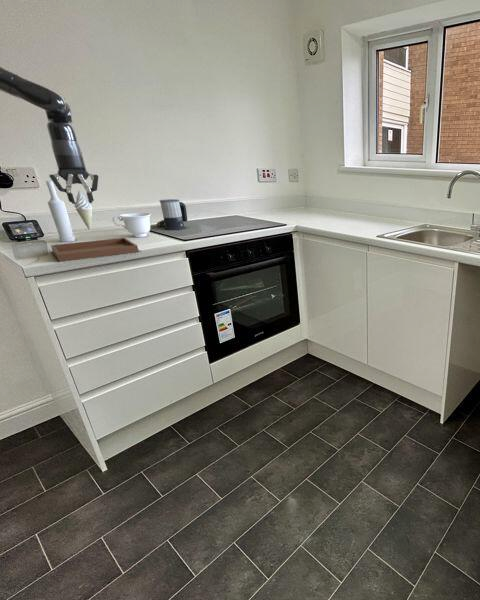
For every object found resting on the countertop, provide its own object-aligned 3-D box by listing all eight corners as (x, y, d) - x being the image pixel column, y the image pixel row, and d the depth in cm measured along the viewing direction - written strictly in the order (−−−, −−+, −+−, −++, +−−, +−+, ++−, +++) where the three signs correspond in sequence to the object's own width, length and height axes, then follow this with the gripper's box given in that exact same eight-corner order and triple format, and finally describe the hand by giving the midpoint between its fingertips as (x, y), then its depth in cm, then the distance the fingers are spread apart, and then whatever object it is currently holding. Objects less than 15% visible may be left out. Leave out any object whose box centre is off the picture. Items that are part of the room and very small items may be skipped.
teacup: (116, 235, 167) (110, 214, 163) (153, 232, 176) (148, 212, 172) (118, 240, 158) (112, 217, 155) (157, 236, 168) (152, 215, 164)
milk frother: (180, 230, 185) (174, 201, 179) (148, 229, 183) (141, 200, 177) (191, 225, 198) (186, 198, 193) (161, 225, 196) (155, 197, 190)
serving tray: (59, 261, 124) (57, 254, 123) (52, 251, 136) (50, 245, 135) (138, 251, 141) (137, 245, 140) (126, 243, 153) (125, 237, 152)
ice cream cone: (81, 229, 136) (70, 189, 130) (98, 228, 139) (88, 189, 133) (81, 231, 132) (69, 190, 127) (98, 230, 135) (88, 190, 130)
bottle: (76, 239, 158) (58, 180, 148) (75, 241, 154) (57, 181, 145) (60, 240, 154) (41, 180, 145) (59, 242, 151) (40, 181, 142)
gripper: (91, 154, 133) (104, 201, 139) (39, 153, 123) (55, 203, 129) (95, 155, 128) (108, 203, 134) (41, 153, 118) (57, 205, 124)
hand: (82, 202), depth 132 cm, fingers closed on ice cream cone, 4 cm apart
